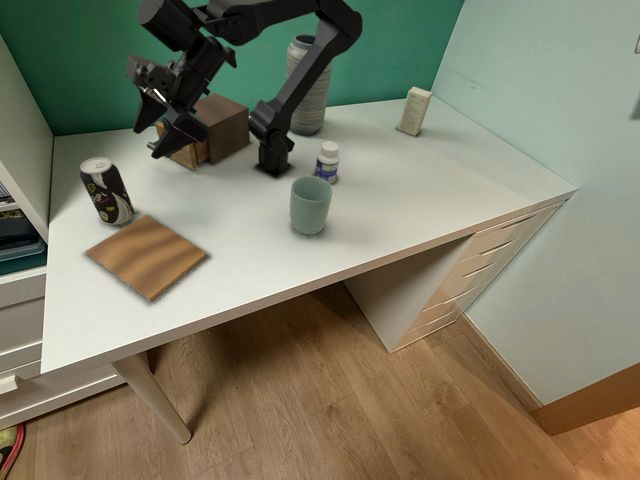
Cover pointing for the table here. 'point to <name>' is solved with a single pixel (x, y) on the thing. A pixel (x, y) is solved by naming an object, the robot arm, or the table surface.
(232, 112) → the cabinet
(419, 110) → the cosmetic box
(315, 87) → the vase
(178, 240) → the wooden board
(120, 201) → the beverage can
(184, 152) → the drawer
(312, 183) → the cup
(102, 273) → the table surface
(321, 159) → the pill bottle
